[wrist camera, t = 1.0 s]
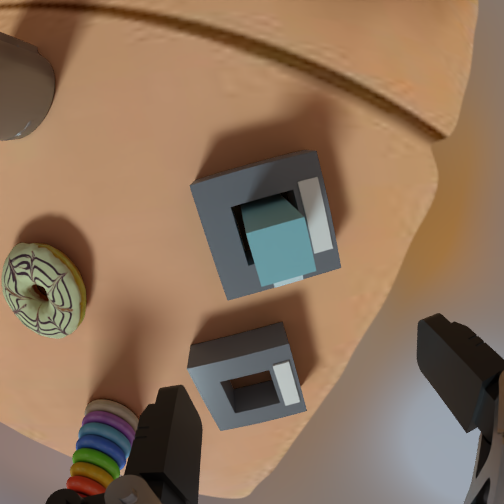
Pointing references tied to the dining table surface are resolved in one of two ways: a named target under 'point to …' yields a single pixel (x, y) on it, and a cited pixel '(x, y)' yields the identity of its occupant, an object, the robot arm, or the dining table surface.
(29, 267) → the decorated donut
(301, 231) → the plug
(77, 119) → the dining table surface
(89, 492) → the stacking toy
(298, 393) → the far socket block
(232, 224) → the near socket block
